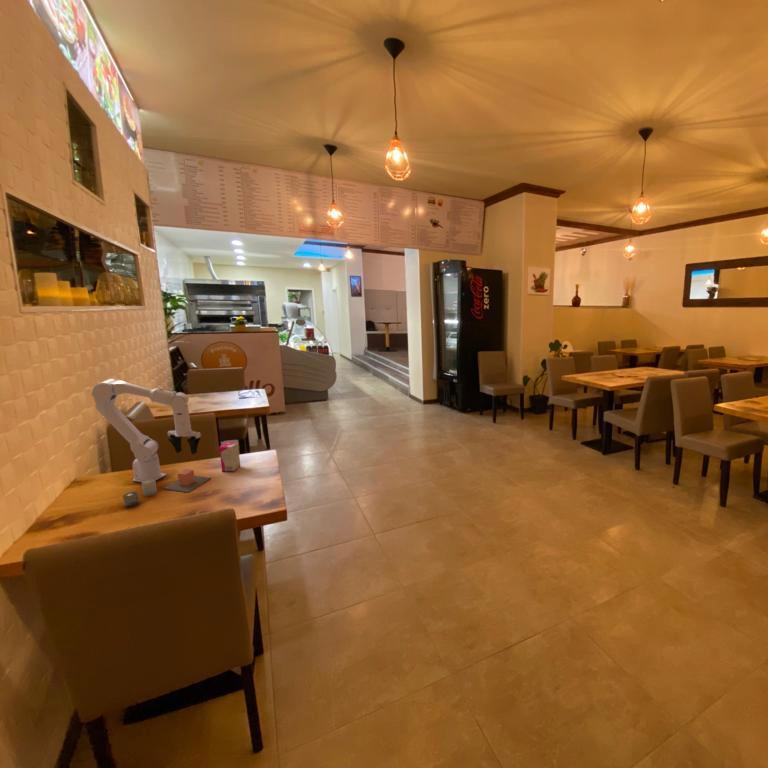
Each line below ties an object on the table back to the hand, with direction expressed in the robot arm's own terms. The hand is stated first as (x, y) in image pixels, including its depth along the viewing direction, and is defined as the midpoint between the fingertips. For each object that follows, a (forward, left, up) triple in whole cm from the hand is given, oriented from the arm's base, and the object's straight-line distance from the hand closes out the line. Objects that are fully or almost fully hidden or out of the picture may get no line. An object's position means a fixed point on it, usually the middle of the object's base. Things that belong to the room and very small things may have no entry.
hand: (186, 452), depth 154 cm
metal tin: (0, -26, -10) cm, 28 cm away
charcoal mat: (+7, -8, -9) cm, 14 cm away
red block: (+7, -8, -9) cm, 14 cm away
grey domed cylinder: (-1, -18, -10) cm, 20 cm away
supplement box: (+15, +8, -10) cm, 20 cm away
